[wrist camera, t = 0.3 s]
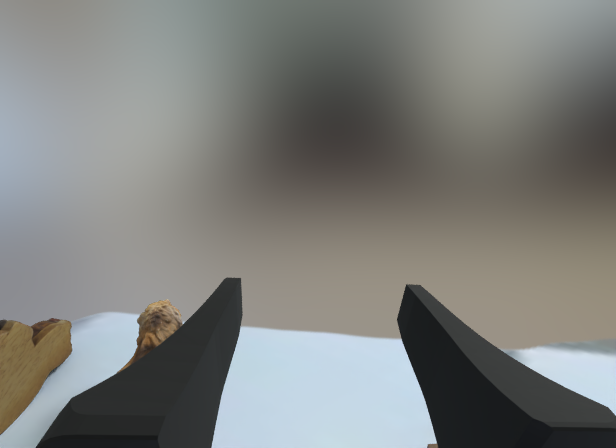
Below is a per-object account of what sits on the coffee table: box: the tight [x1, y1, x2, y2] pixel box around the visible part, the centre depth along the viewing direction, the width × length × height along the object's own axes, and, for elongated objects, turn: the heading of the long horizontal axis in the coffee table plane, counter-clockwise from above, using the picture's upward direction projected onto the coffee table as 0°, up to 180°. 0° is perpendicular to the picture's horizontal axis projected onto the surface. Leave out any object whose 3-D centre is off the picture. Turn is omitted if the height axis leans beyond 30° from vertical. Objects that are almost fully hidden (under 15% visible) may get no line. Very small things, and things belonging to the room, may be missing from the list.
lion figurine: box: [116, 299, 183, 374], centre depth 28 cm, size 15×5×9 cm, turn 163°
